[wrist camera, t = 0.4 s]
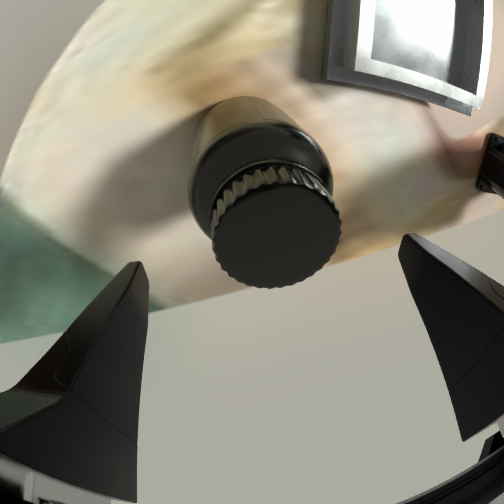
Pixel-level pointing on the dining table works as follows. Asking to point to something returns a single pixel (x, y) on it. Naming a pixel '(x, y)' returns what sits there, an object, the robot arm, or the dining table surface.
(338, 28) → the gray square tray
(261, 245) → the supplement bottle
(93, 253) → the dining table surface
